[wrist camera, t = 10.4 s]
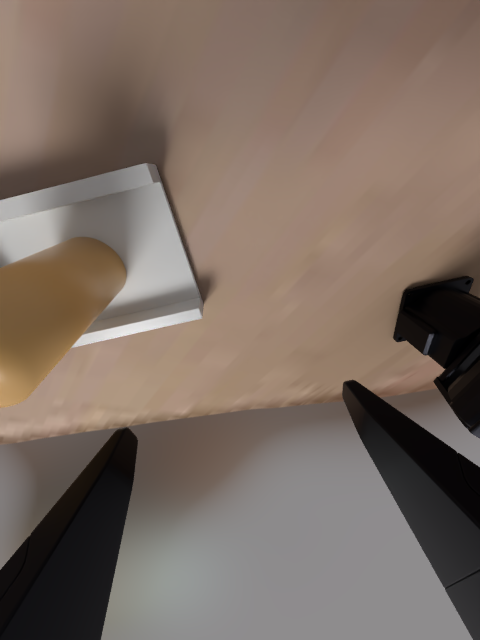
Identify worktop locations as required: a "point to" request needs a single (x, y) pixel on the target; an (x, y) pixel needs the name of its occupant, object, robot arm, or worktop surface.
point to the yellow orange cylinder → (51, 308)
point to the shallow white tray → (112, 244)
